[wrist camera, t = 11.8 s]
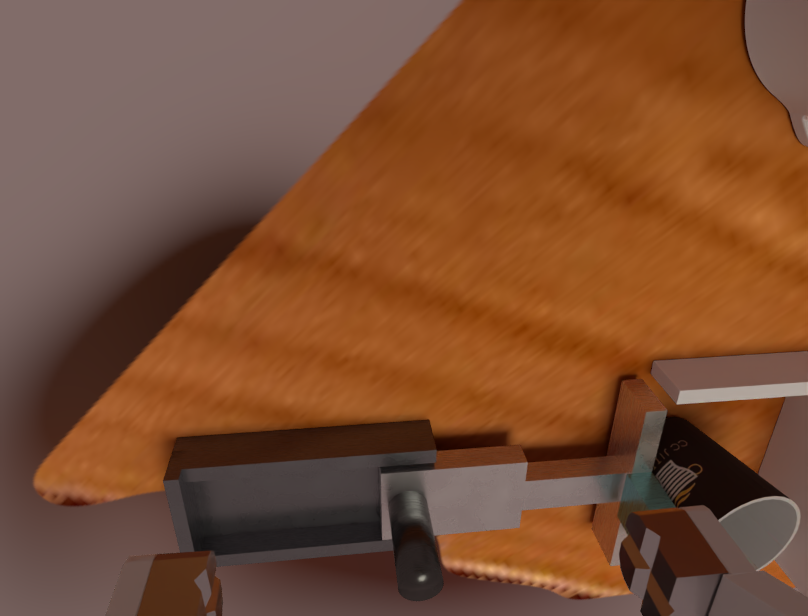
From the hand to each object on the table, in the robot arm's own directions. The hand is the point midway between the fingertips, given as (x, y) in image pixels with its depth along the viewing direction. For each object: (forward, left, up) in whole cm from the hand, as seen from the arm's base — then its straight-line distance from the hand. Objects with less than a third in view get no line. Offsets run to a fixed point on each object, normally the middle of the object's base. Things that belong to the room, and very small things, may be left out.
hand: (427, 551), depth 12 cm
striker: (-12, +25, -29) cm, 40 cm away
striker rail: (+4, +25, -29) cm, 39 cm away
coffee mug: (-23, +25, -29) cm, 45 cm away
